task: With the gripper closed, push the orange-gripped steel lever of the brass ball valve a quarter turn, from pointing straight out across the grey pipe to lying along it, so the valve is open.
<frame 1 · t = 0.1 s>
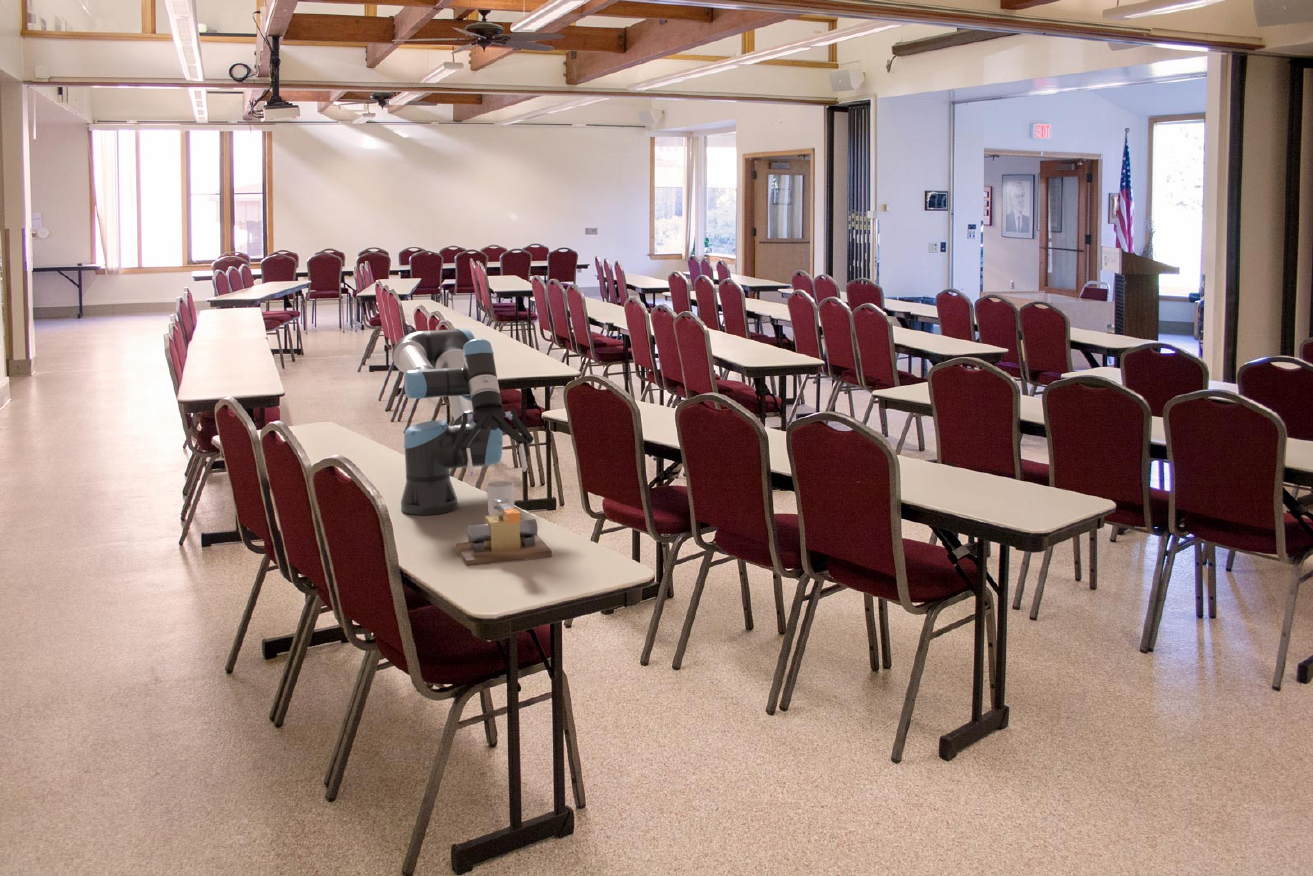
hand: (498, 471, 281), 15 cm above the table, tool tilted 35°, fingers open, 13 cm apart
valve body: (502, 528, 265), on the base board, point 6 cm above the table
mug: (500, 528, 287), on the table
valve lever: (506, 509, 259), point 12 cm above the table, hinge at 0.0°
base board: (503, 553, 267), on the table
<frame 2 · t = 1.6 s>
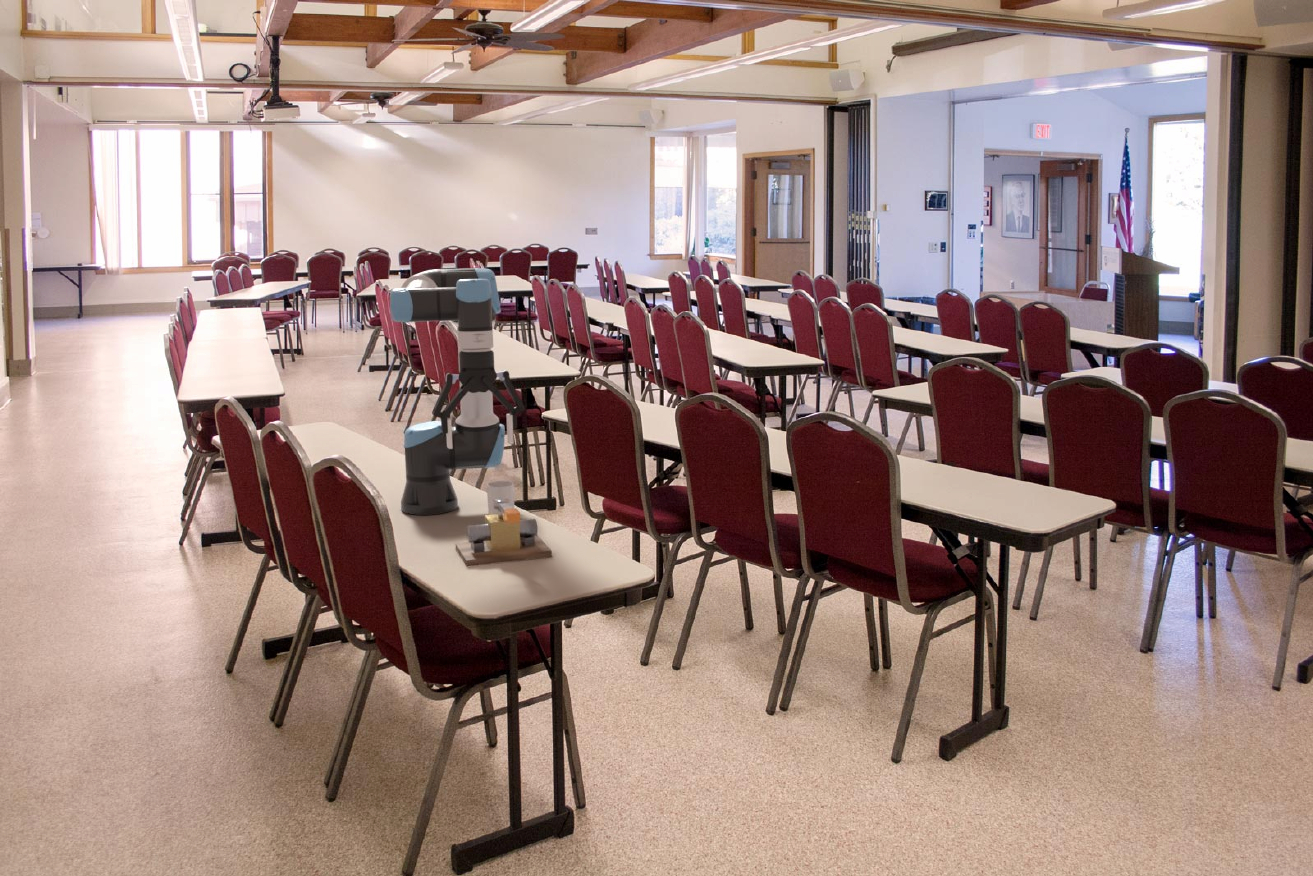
hand: (480, 445, 250), 28 cm above the table, tool pointing down, fingers open, 13 cm apart
nothing on the table moved.
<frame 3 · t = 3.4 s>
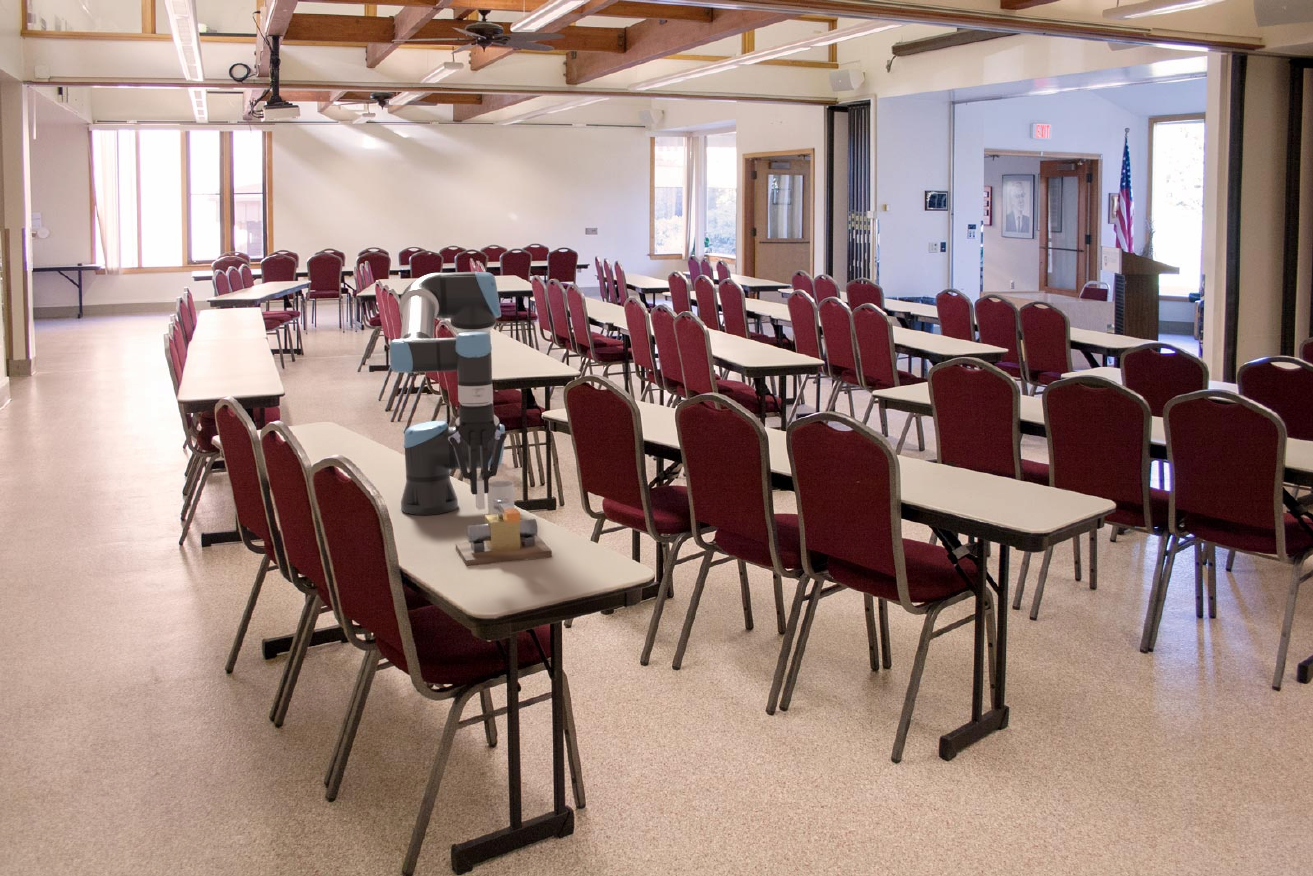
hand: (480, 507, 251), 15 cm above the table, tool pointing down, fingers closed
nothing on the table moved.
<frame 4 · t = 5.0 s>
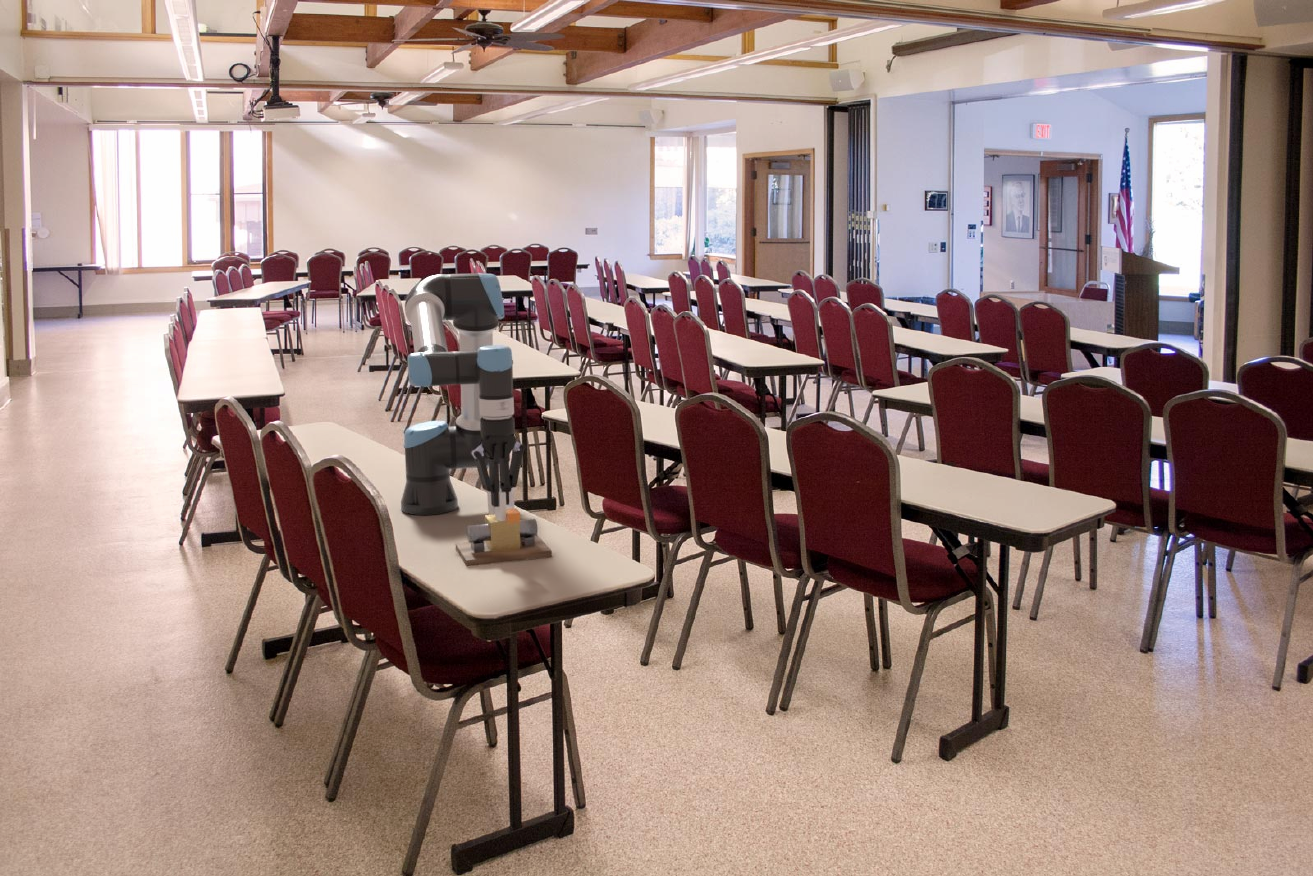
hand: (501, 519, 253), 11 cm above the table, tool pointing down, fingers closed
valve lever: (506, 509, 259), point 12 cm above the table, hinge at 0.0°, touching gripper
everything else where it was.
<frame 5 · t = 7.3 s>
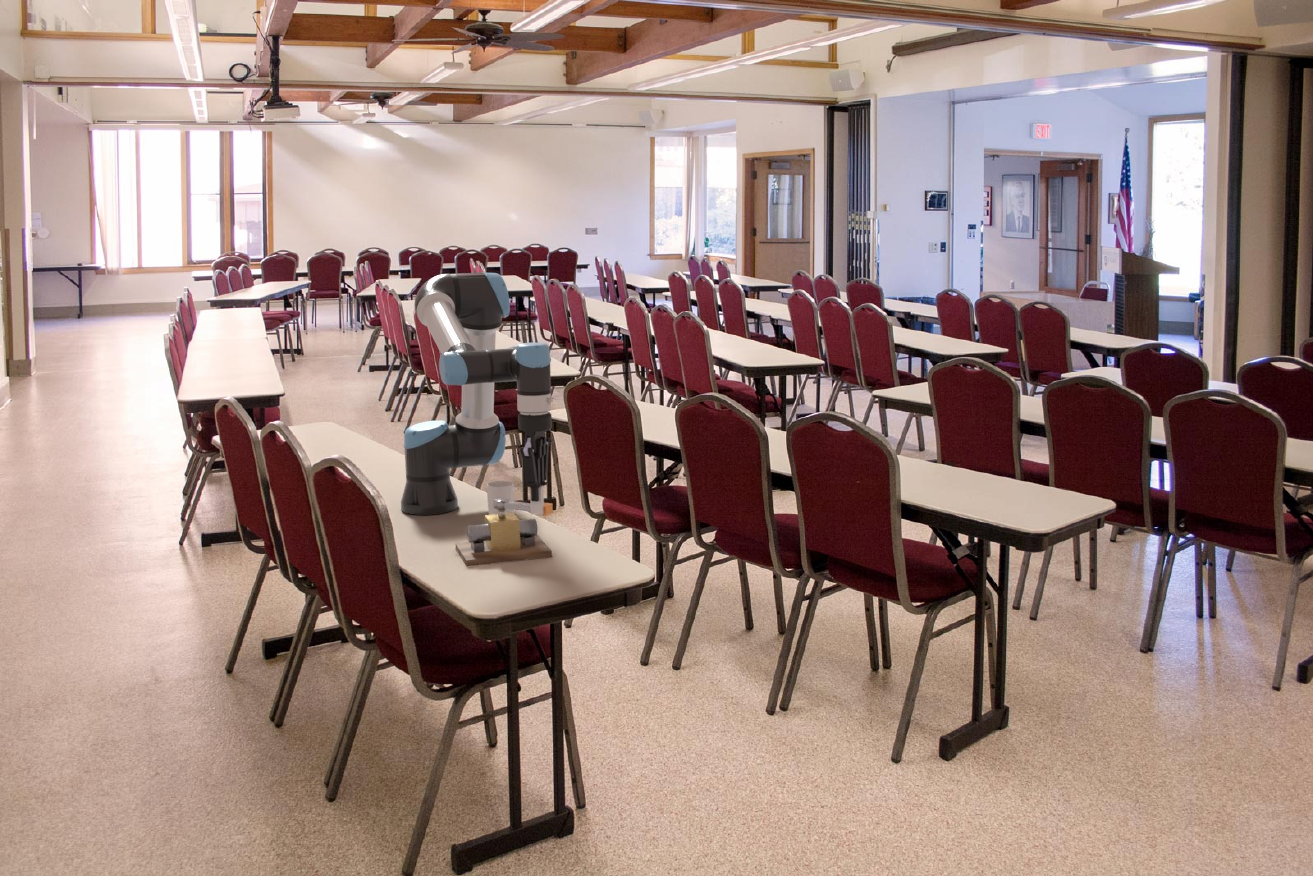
hand: (537, 513, 257), 11 cm above the table, tool pointing down, fingers closed
valve lever: (521, 506, 262), point 12 cm above the table, hinge at 45.0°, touching gripper
everything else where it was.
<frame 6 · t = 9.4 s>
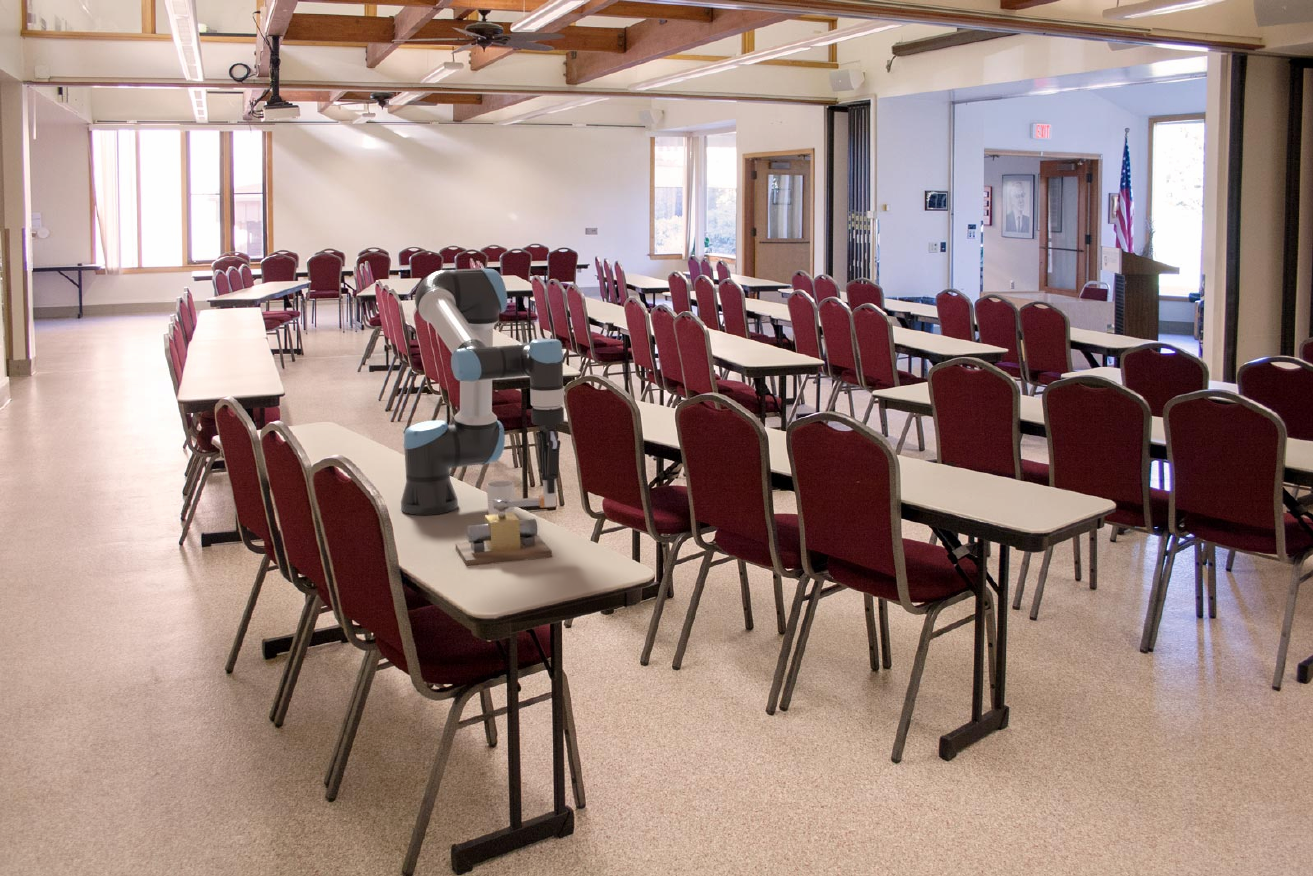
hand: (549, 505, 264), 11 cm above the table, tool pointing down, fingers closed
valve lever: (525, 502, 265), point 12 cm above the table, hinge at 82.3°, touching gripper
everything else where it was.
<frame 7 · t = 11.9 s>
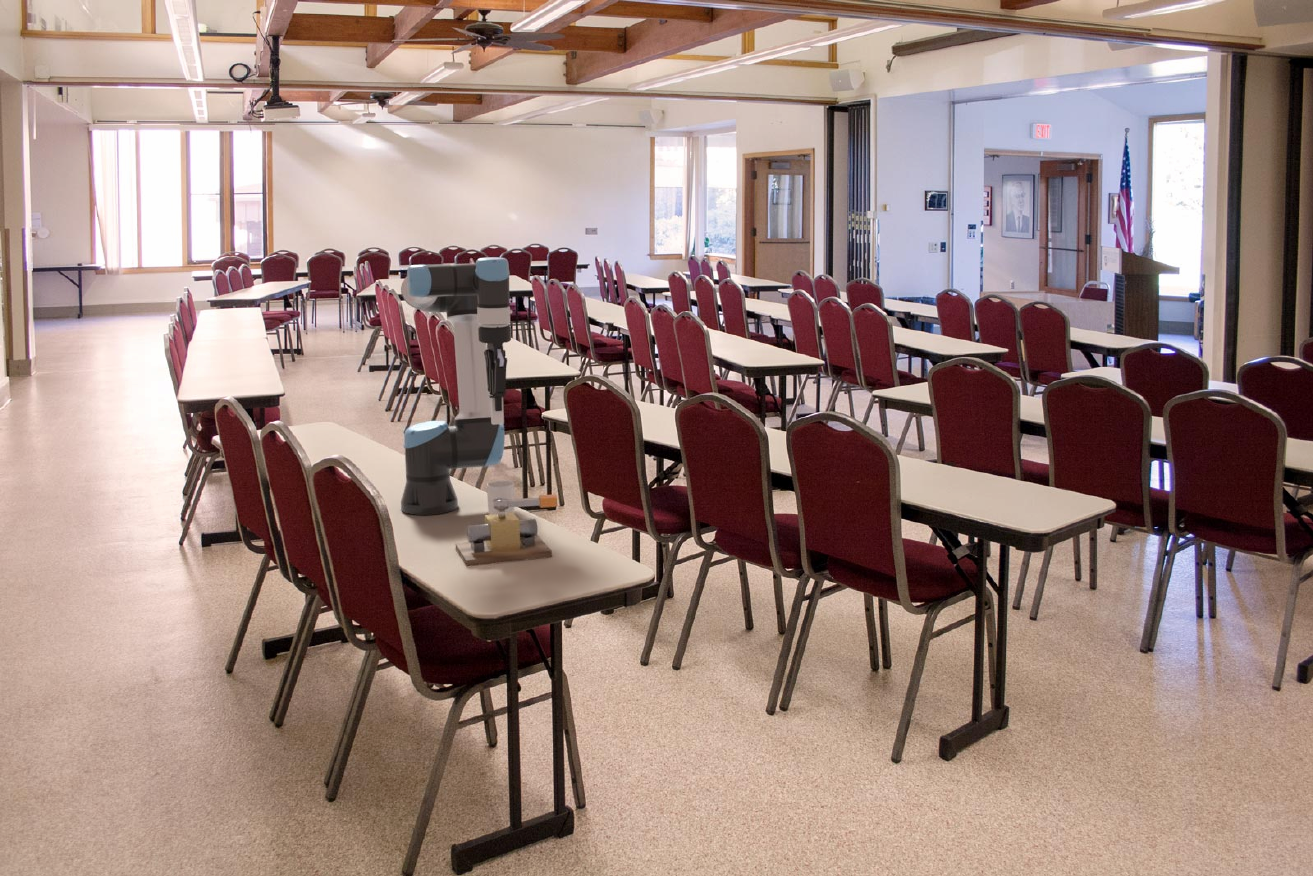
hand: (497, 423, 268), 30 cm above the table, tool pointing down, fingers closed
valve lever: (525, 502, 265), point 12 cm above the table, hinge at 82.4°
everything else where it was.
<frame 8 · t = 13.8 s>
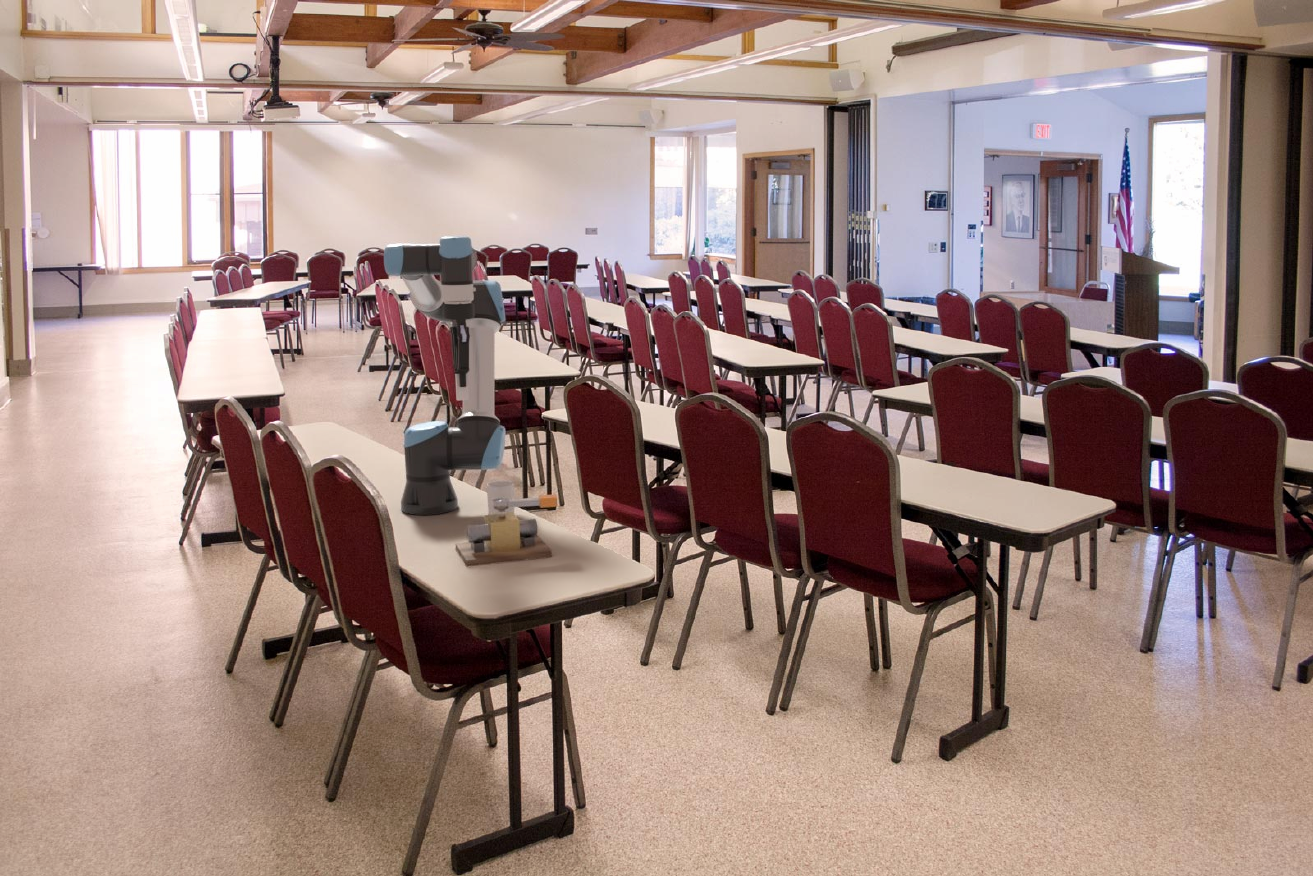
hand: (462, 399, 273), 34 cm above the table, tool pointing down, fingers closed
nothing on the table moved.
at the end: valve lever at +82° (first picture: +0°); mug moved 0.2 cm from its start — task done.
